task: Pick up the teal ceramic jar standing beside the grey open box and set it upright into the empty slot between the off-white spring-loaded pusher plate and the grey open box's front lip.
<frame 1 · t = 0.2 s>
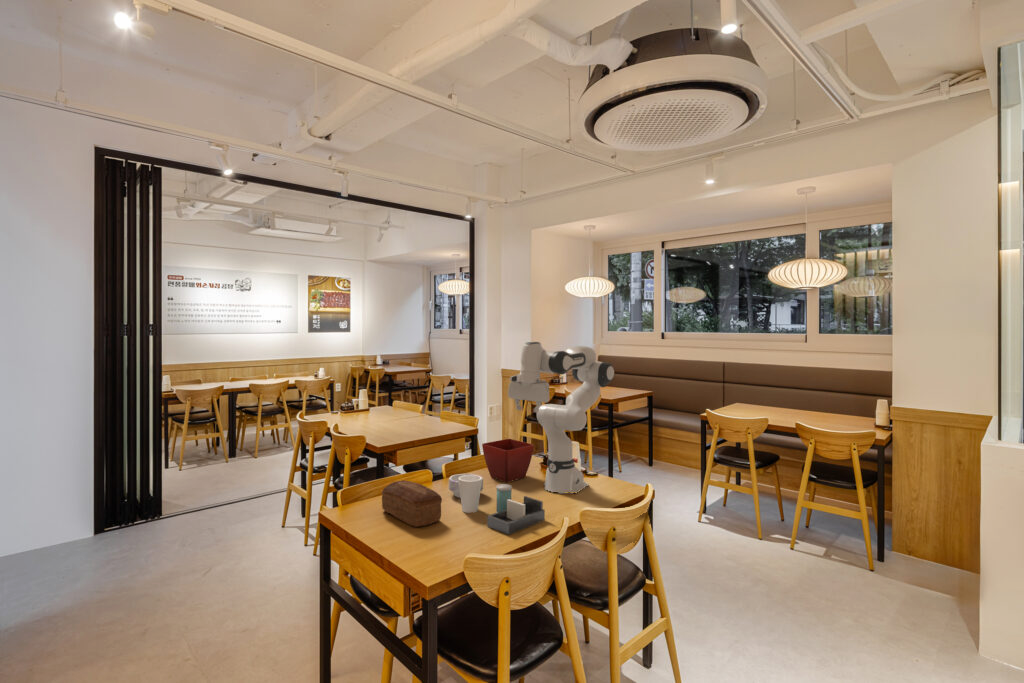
hand: (527, 411, 209), 39 cm above the table, tool pointing down, fingers open, 8 cm apart
grey open box: (516, 523, 185), on the table
pale lilac bowl: (465, 495, 217), on the table
bread: (410, 517, 191), on the table
foam cup: (469, 510, 198), on the table
pusher plate: (515, 511, 184), point 5 cm above the table, slide at 0.0 cm
jar: (503, 511, 198), on the table
plant pot: (507, 478, 245), on the table
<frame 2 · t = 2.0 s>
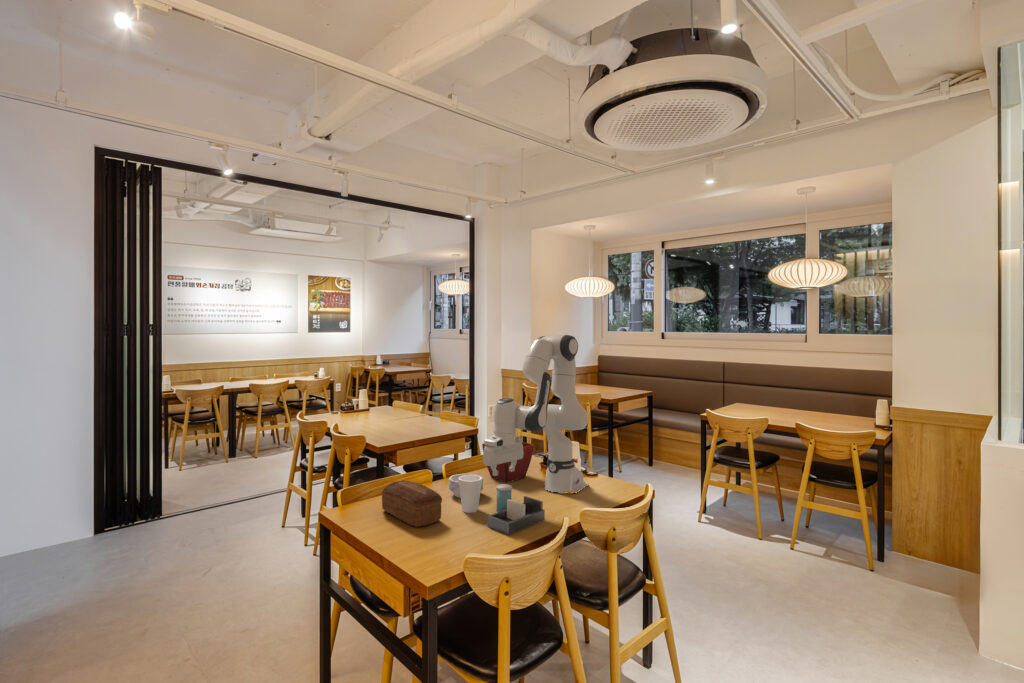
hand: (503, 473, 197), 15 cm above the table, tool pointing down, fingers open, 8 cm apart
nothing on the table moved.
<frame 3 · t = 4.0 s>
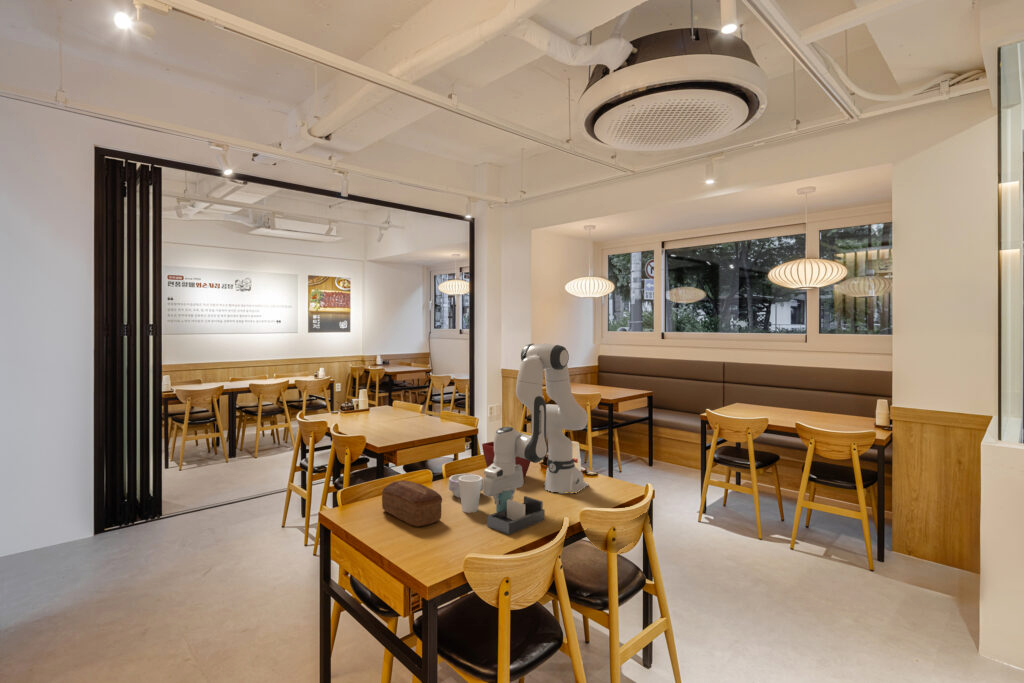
hand: (503, 502, 198), 4 cm above the table, tool pointing down, fingers closed on jar, 6 cm apart
jar: (503, 511, 198), on the table, touching gripper
everything else where it was.
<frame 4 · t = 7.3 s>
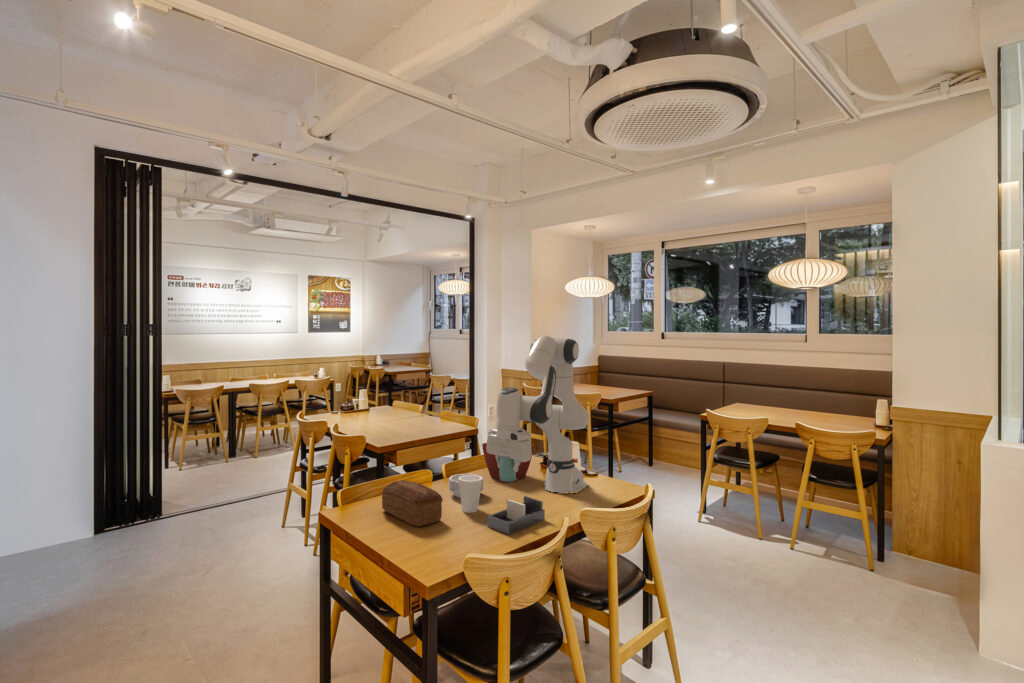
hand: (507, 469, 181), 21 cm above the table, tool pointing down, fingers closed on jar, 6 cm apart
jar: (507, 479, 181), point 18 cm above the table, touching gripper
everything else where it was.
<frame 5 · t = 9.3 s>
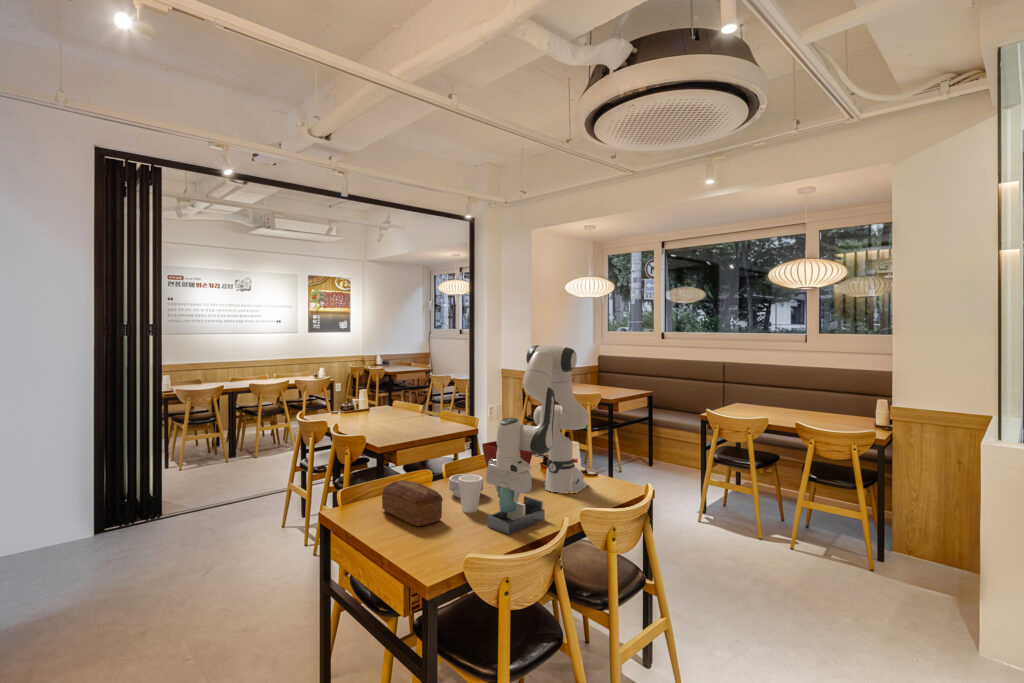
hand: (507, 499, 181), 10 cm above the table, tool pointing down, fingers closed on jar, 6 cm apart
jar: (507, 509, 181), point 6 cm above the table, touching gripper
everything else where it was.
when the fingers open (7 cm above the table, at t = 11.0 s): jar drops 2 cm, resting on grey open box.
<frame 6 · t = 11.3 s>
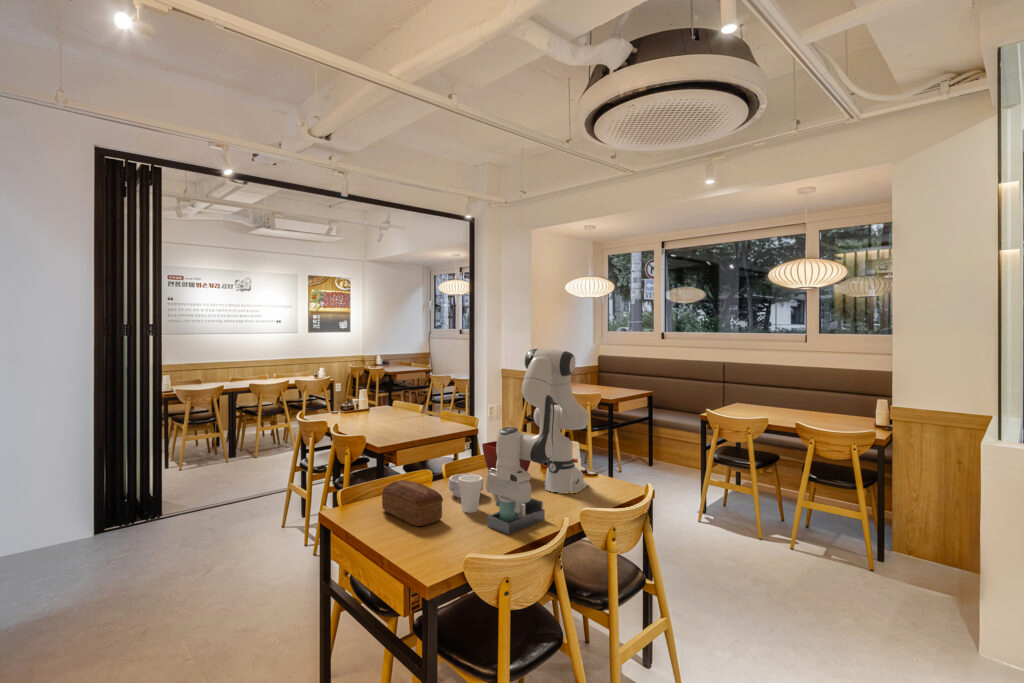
hand: (507, 509, 181), 7 cm above the table, tool pointing down, fingers open, 8 cm apart
jar: (507, 524, 181), point 1 cm above the table, touching grey open box
everything else where it was.
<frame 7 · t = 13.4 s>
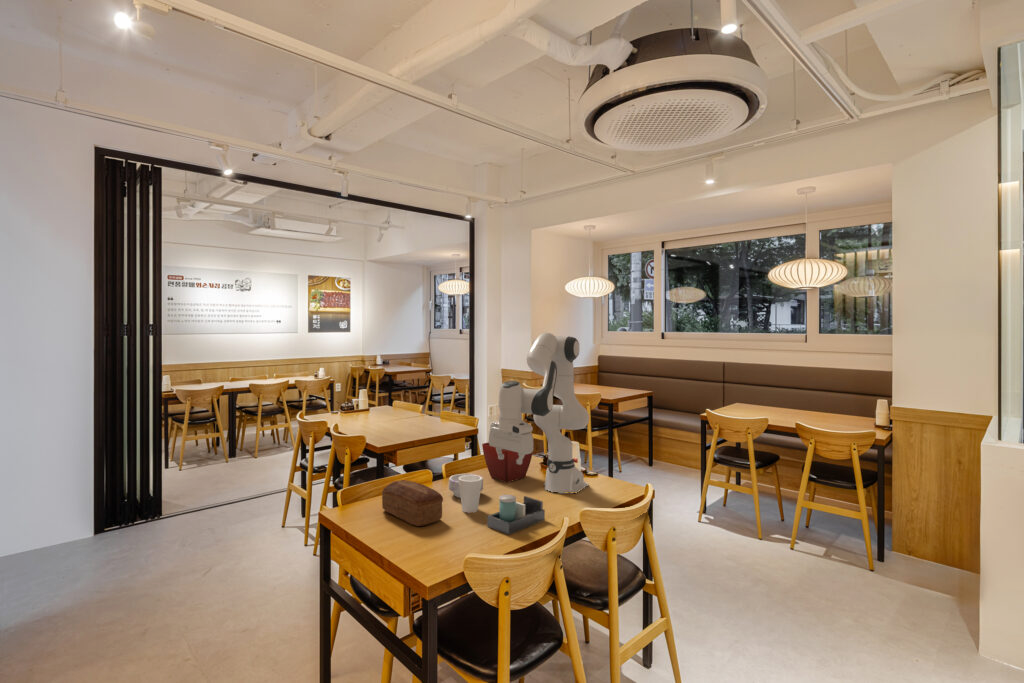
hand: (510, 461, 183), 24 cm above the table, tool pointing down, fingers open, 8 cm apart
nothing on the table moved.
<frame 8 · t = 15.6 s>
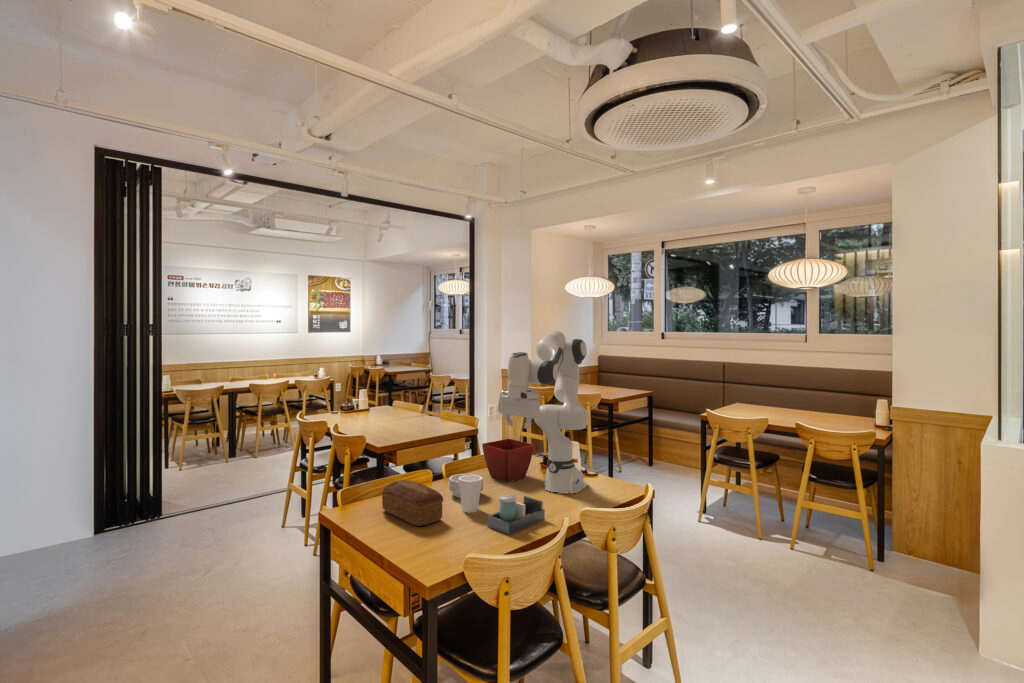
hand: (517, 426, 198), 34 cm above the table, tool pointing down, fingers open, 8 cm apart
nothing on the table moved.
at the end: jar 0.1 cm from the target spot on the grey open box, point 1.0 cm above the grey open box's base; jar tilted 0°; the gripper is holding nothing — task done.
